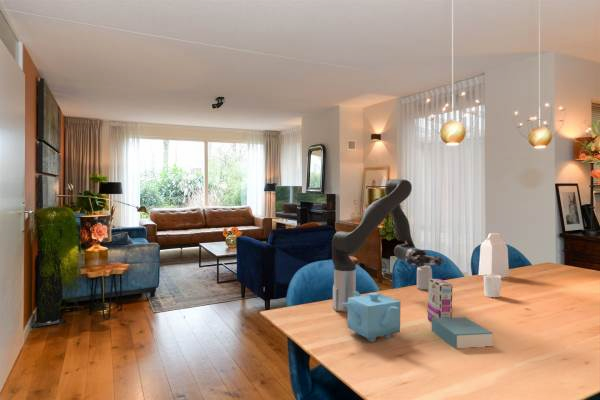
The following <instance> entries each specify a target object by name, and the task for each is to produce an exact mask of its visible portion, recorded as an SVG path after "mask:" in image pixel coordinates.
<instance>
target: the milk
mask: <svg viewBox="0 0 600 400" xmlns="http://www.w3.org/2000/svg"><path fill="white" fill-rule="evenodd" d="M508 250H509V249H508V245H507V243H505V241H504V240H503V239H502V238H501V235H500V233H498V232H497V233H496V232H495V233H488V235H487V238H486V239H485V240H484V241H482V242H481V244H480V248H479V263H478V264H479V265H478V276H481V275H485V274H494V275H499V276H501V277H506V276H509V277H510V273H509V272H510V269H509V268H510V266H509V252H508Z"/></svg>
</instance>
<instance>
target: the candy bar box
mask: <svg viewBox="0 0 600 400" xmlns="http://www.w3.org/2000/svg"><path fill="white" fill-rule="evenodd" d="M427 292H428V293H427V320H428V321H429V322H431V323H432V318H452V317H453V315H452V314H453V313H452V312H453V310H452V309H453V284H451V283H449V282H447V281H445V280H443V279H441V278H432V279H429V285H428V290H427Z"/></svg>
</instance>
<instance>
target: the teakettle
mask: <svg viewBox="0 0 600 400" xmlns="http://www.w3.org/2000/svg"><path fill="white" fill-rule="evenodd" d="M353 292H354V294H355V297H350V298H348V302H344V303H341V304H343V305H345V306H346V307H347V309H348V312H347V328H348V329H350V330H351V331H353V332H354V334H356V335H359V336H360V335H361V336H362V337H364V338H365V339H366V341H368V342H371V343H373V342H376V340H377V338H378V337H379V338H380V337H383V338H386V339H392V338H393V336H392V334H397V333H401V303H402V302H401V301H400V300H399V299H396V298H392V297H390V296H386V295H384V294H381V293H377V292H370V293H368V294H364V295H361V293H360V292H359V291H357V290H355V291H353Z"/></svg>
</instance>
